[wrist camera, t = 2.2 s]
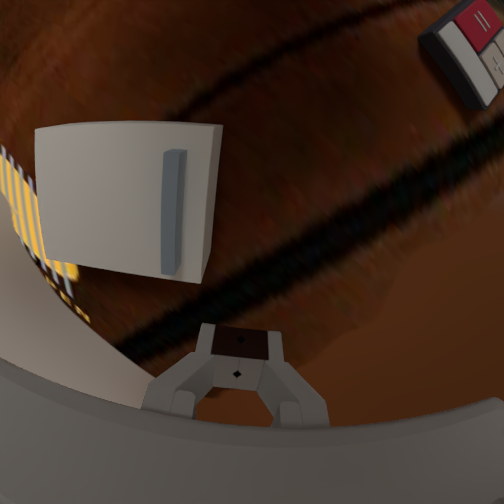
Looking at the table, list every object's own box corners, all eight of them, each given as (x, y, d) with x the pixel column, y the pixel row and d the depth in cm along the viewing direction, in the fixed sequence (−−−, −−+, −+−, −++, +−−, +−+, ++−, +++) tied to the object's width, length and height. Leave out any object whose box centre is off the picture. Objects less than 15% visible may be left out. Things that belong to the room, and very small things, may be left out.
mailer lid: (38, 128, 20) (19, 132, 17) (215, 126, 21) (208, 127, 18) (49, 256, 26) (34, 269, 23) (201, 280, 27) (196, 298, 24)
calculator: (525, 59, 16) (489, 112, 20) (506, 60, 20) (467, 111, 24) (481, -10, 13) (435, 30, 17) (463, -3, 17) (415, 38, 21)
